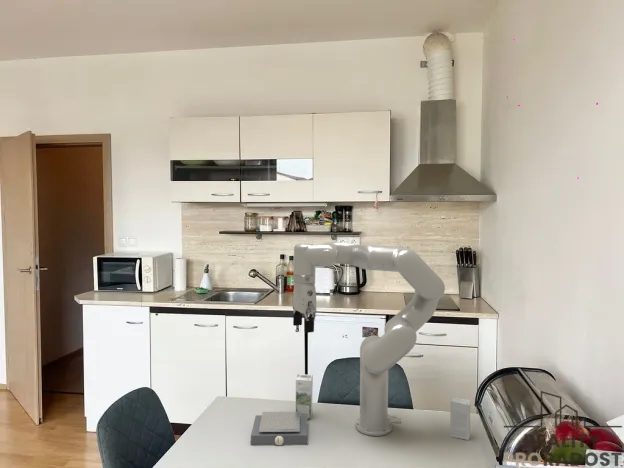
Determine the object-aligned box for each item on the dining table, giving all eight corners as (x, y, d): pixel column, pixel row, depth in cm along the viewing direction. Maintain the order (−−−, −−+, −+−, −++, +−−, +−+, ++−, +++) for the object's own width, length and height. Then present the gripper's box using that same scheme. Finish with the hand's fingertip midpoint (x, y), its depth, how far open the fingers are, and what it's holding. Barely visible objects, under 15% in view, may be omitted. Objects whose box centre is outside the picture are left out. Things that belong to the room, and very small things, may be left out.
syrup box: (312, 412, 162) (312, 374, 161) (311, 419, 156) (311, 380, 155) (297, 411, 162) (297, 373, 162) (295, 419, 156) (295, 379, 156)
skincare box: (470, 434, 146) (471, 399, 145) (469, 440, 142) (469, 404, 141) (451, 430, 148) (452, 396, 148) (449, 436, 144) (450, 401, 144)
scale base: (307, 423, 153) (307, 415, 153) (307, 445, 138) (307, 436, 138) (255, 423, 153) (255, 415, 153) (250, 446, 138) (250, 436, 138)
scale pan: (299, 414, 152) (299, 411, 152) (299, 431, 140) (299, 428, 140) (262, 414, 152) (262, 411, 151) (259, 431, 140) (259, 428, 140)
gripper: (325, 282, 143) (324, 334, 144) (303, 275, 159) (302, 321, 160) (304, 283, 140) (303, 336, 141) (284, 276, 156) (283, 323, 157)
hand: (303, 328), depth 150 cm, fingers open, 9 cm apart
